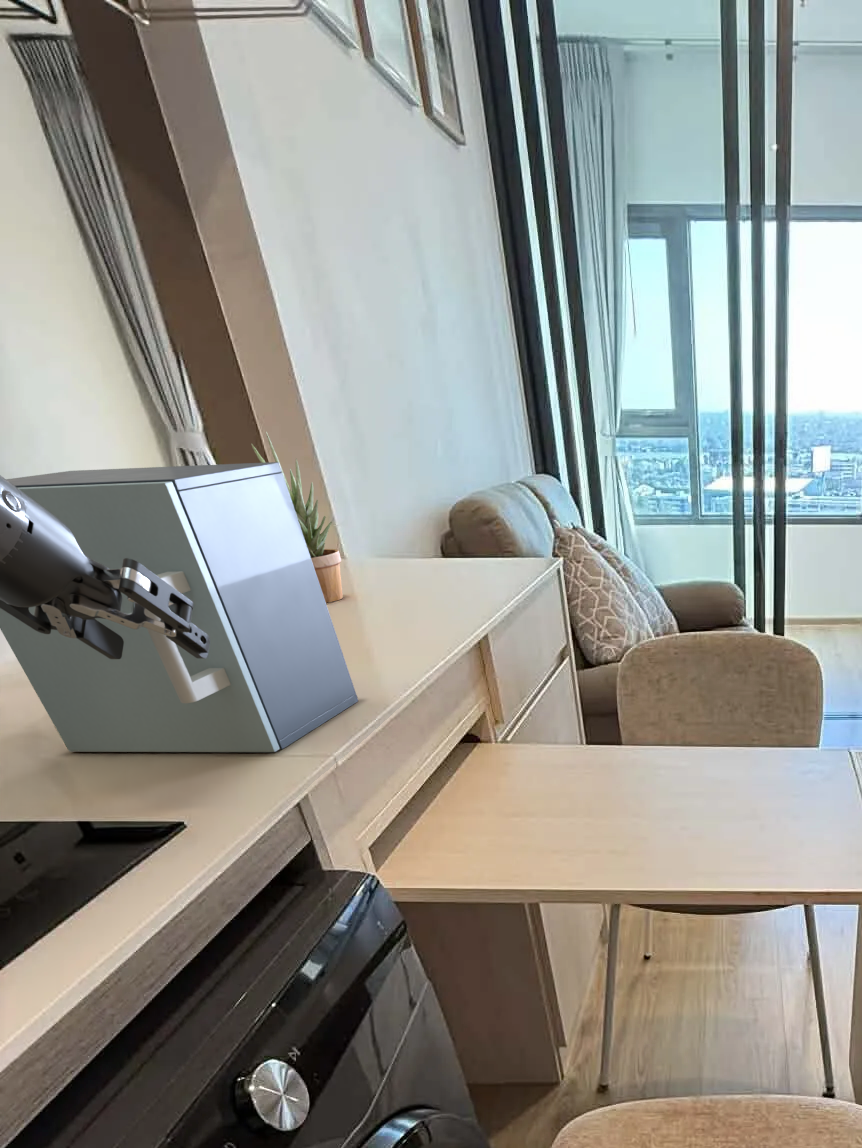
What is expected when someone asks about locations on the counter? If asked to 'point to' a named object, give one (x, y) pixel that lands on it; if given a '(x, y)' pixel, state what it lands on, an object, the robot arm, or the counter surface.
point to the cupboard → (255, 583)
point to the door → (141, 639)
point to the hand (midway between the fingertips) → (162, 649)
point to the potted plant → (314, 535)
